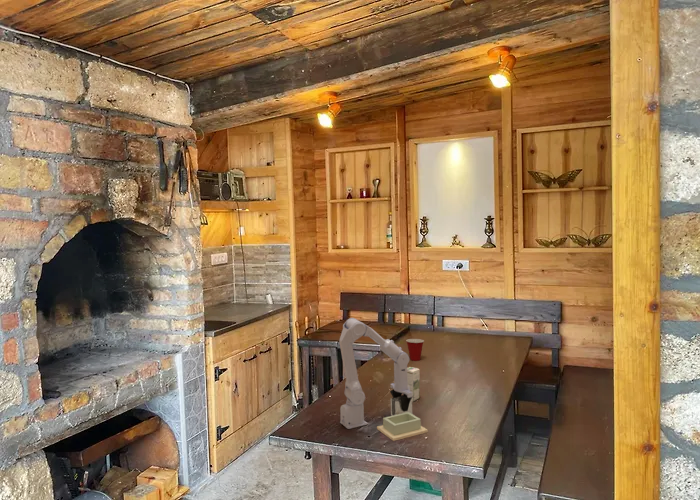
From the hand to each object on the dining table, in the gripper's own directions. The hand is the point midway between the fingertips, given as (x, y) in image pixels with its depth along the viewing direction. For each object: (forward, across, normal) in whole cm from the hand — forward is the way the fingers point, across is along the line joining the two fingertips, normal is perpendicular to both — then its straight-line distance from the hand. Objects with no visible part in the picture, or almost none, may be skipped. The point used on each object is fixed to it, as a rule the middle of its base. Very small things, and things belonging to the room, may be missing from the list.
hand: (401, 408), depth 226 cm
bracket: (+3, 0, 0) cm, 3 cm away
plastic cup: (+3, +69, -53) cm, 87 cm away
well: (+3, -13, +8) cm, 16 cm away
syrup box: (+3, +15, -15) cm, 21 cm away
